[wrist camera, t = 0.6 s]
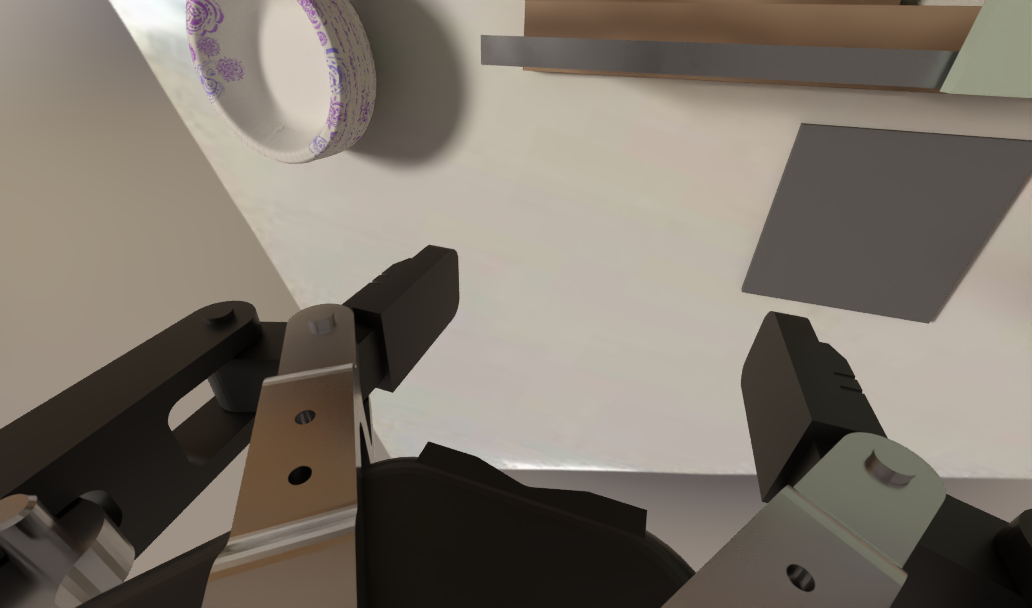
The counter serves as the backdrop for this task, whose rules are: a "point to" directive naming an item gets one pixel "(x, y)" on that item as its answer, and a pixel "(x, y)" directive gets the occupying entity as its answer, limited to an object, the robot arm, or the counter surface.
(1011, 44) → the sliding cover
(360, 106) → the paper bowls
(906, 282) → the charcoal mat
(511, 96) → the counter surface
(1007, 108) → the counter surface
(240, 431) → the robot arm
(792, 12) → the wooden base board
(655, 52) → the cover rails
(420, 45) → the counter surface
